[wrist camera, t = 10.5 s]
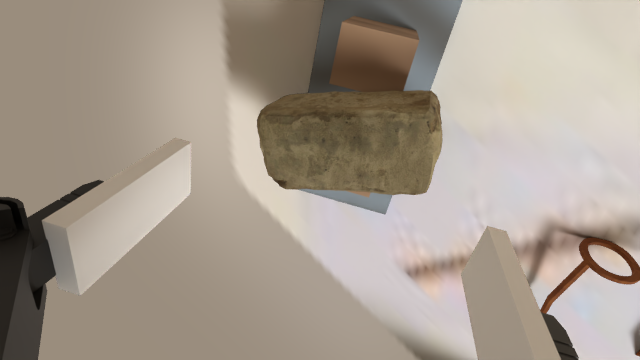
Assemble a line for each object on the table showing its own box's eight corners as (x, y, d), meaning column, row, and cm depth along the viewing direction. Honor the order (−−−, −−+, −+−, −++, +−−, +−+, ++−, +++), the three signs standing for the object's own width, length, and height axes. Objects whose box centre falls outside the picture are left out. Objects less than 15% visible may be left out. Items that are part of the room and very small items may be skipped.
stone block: (274, 91, 25) (248, 111, 21) (441, 83, 23) (450, 105, 19) (285, 163, 28) (264, 195, 24) (436, 164, 25) (443, 199, 21)
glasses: (722, 265, 32) (772, 308, 28) (637, 351, 39) (666, 397, 34) (573, 230, 33) (598, 265, 29) (514, 319, 40) (528, 359, 36)
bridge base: (385, 209, 36) (382, 252, 30) (293, 183, 37) (272, 220, 31) (473, -37, 25) (495, -45, 19) (339, -66, 26) (319, -83, 20)
